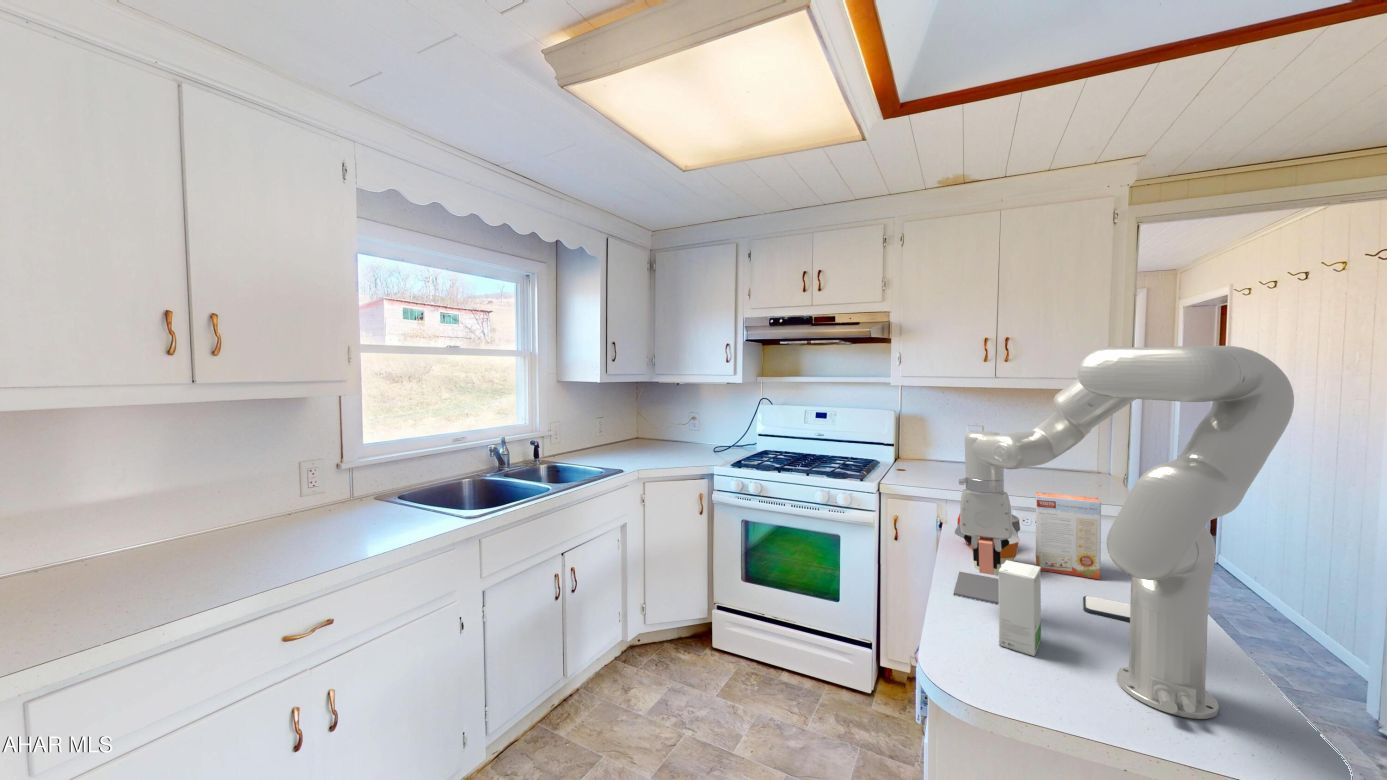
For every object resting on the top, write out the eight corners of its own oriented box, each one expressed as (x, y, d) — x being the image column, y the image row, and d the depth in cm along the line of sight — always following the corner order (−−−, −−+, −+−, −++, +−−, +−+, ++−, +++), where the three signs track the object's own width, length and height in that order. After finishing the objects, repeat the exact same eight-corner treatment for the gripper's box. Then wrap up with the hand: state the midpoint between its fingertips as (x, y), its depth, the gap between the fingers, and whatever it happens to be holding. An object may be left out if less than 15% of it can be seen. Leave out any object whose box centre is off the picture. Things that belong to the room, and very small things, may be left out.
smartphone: (1083, 615, 113) (1180, 636, 104) (1083, 608, 113) (1180, 628, 104) (1083, 600, 120) (1174, 619, 111) (1083, 594, 120) (1174, 612, 110)
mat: (1026, 610, 115) (1026, 608, 114) (953, 595, 123) (953, 592, 123) (1025, 586, 127) (1025, 583, 127) (959, 573, 135) (959, 571, 135)
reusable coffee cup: (1020, 581, 130) (1021, 525, 129) (965, 572, 136) (966, 518, 136) (1018, 565, 140) (1019, 513, 140) (968, 556, 147) (968, 507, 146)
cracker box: (1097, 572, 134) (1098, 496, 133) (1100, 581, 129) (1102, 502, 128) (1034, 562, 142) (1035, 490, 141) (1035, 570, 137) (1036, 495, 136)
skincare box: (1034, 657, 96) (1035, 579, 96) (995, 645, 101) (996, 570, 100) (1041, 640, 102) (1042, 566, 102) (1004, 628, 107) (1005, 558, 106)
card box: (993, 574, 109) (992, 544, 109) (979, 572, 110) (978, 542, 110) (994, 561, 116) (993, 533, 116) (981, 560, 118) (980, 531, 118)
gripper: (943, 485, 114) (945, 565, 114) (1027, 492, 105) (1030, 577, 106) (947, 480, 121) (949, 555, 121) (1027, 485, 112) (1029, 566, 112)
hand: (987, 565), depth 113 cm, fingers closed on card box, 2 cm apart
